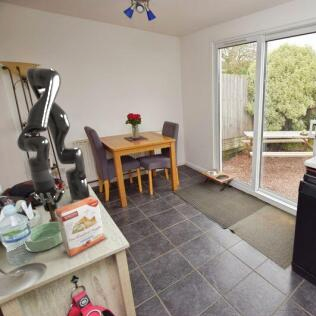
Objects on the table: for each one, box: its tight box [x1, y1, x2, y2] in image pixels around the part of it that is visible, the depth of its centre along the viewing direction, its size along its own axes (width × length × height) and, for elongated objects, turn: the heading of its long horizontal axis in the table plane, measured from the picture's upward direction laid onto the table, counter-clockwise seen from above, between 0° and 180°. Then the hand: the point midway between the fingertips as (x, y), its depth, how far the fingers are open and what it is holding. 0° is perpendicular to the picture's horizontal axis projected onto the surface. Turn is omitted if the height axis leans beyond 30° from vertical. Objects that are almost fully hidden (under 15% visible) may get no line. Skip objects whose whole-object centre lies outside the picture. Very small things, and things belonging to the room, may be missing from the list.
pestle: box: [47, 200, 58, 223], centre depth 108 cm, size 4×4×14 cm
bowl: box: [25, 221, 63, 253], centre depth 99 cm, size 14×14×6 cm
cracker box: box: [55, 196, 105, 257], centre depth 95 cm, size 14×6×21 cm, turn 148°
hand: (51, 210), depth 107 cm, fingers closed on pestle, 2 cm apart
